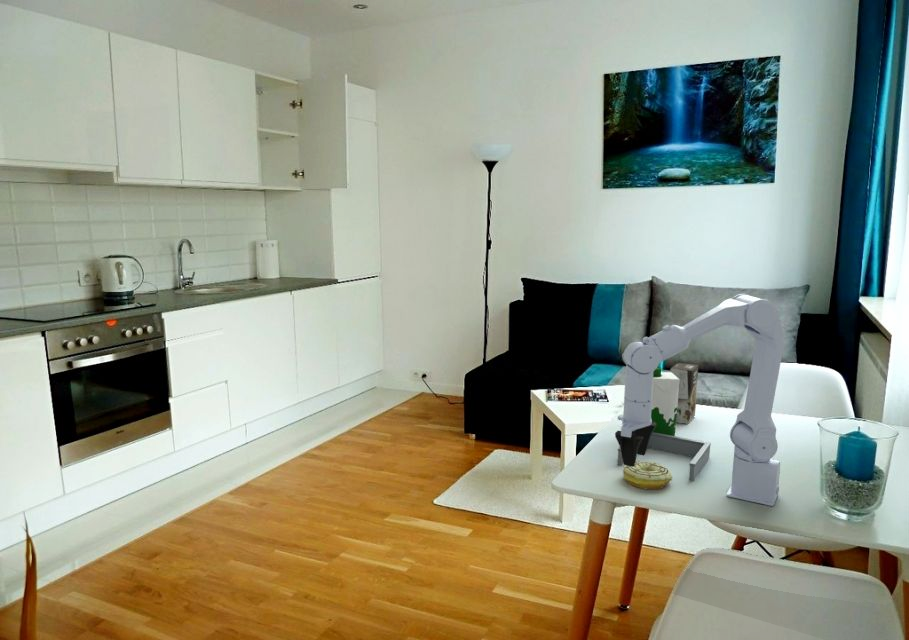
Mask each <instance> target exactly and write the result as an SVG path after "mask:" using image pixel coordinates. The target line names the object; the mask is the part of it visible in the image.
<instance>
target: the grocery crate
mask: <svg viewBox="0 0 909 640" xmlns="http://www.w3.org/2000/svg"><path fill="white" fill-rule="evenodd" d="M711 445H712V442H708V441H703V440H697V439H693V438H688V437H681V436H676V435H675V436H671V435H665V434H660V433H654V432H652V435H651V437H650V440H649V443H648V447H647V449H652V450H656V449H657V450H656V451H663V452H667V453H673V454H677V455H682V456H689V457H692V459H691V461H690V462H689V475H688V476H689V477H688V480H689V481H691V482H694V481H695V480H696V478H697V476H698V475H699V474H700V472H701V471H702V469H703V468H704V466H705V465H706V464H707V462H708V461H709V459H710V456H711V455H710V454H711V453H710V452H711ZM623 465H624V463H623V459H622V453H621V449H620V446H619V447H618V448H617V466H620V467H621V466H623Z"/></svg>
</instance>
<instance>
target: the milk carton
mask: <svg viewBox="0 0 909 640" xmlns="http://www.w3.org/2000/svg"><path fill="white" fill-rule="evenodd" d="M679 380H680V379H679V378H677V377H676V376H675V375H674V374H673V373H671V371H669V372H668V371H666V372H665V371H662V367H660V366H658V367H657V368H656V369H655V370H654V371H653V390H652V407H651V419H652V422H655V423H656V427H655V429H654V431H653V432H654V433H660V434H665V435H671V436H676V429H677V422H676V420H677V406H678V391H679Z"/></svg>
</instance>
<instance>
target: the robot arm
mask: <svg viewBox="0 0 909 640" xmlns="http://www.w3.org/2000/svg"><path fill="white" fill-rule="evenodd" d="M724 326H734V327H735V326H736V327H742V328H745V329H746V330H747V332H748V333H749V334H750V335H751V336H752V337H753V338H754V339H755V343H754V344H755V346H754V351H753V356H752V362H751V368H750V374H749V378H748V379H749V380H748V384H747V391H746V395H745V396H746V397H745V401H744V402H745V403H744V409H743V410H742V411H740V412H739V413H738V414H737V416H736V420H735V423H734V424H733V425H732V427H731V429H730V432H729V438H730V441H731V442H732V444H733V445H734V449H733V450H734V451H733V460H732V461H733V462H732V463H733V464H732V474H731V475H732V476H731V483H730V484H731V485H730V486H729V489H728V490H727V491H726V493H725V495H726V497H730V498H734V499H738V500H742V501H743V500H744V501H747V502H752V503H757V504H762V505H766V506H770V507H774V505H775V503H776V500H777V497H778V495H779V492H780V486H779V483H780V473H781V461H780V460H776V459H773V457H774V456H775V455H776V453H777V452H778V440H777V436H776V434H777V428H776V425H775V422H774V420H773V417H772V412H773V407H774V402H775V401H774V400H775V396H776V389H777V386H778V385H777V384H778V380H779V373H780V368H781V363H782V358H783V357H782V356H783V352H784V346H785V341H786V333H785V329H784V326H783V323H782V320H781V310H780V309H779V308H778V307H777V306H776V305H775V304H774V303H773V302H771V301H770V300H768V299H764V298H759V297H755V296H752V295H749V294H746V293H740V294H736V295H735V296H733V297H731V298H727V299H725V300H723V301H722V302H720V304H719V305H717V306H715V307H713V308H712V309H710V310H708V311H707V312H704V313H703V314H702V315H700V316H698V317H695V319H693V320H691V321H689V322H688V323H686V324H684V325H682V326H679V325H676V324H672V325H669V324H665V325H664V326H662V327H661V328H662V330H660V331H659V332H657V333H655V334H653V335H650V336H649V337H648V336H645V337H643V338H642V341H633V342H631V343H629V344H628V345H627V346H626V348H625V349H624V351H623V353H622V355H621V357H622V361H623V363H624V364H625V365H626V366H625V379H624V394H623V395H624V396H623V414H619V415H618V416H617V420H618V421H621V423H622V424H621V425H622V426H621V427H620V430H617V431H616V432H615V433H614V437H615V439H616V441H617V443H618V445H619V447H620V449H621V453H622V459H623V463H624V464H623V465H624V466H625V465H627V466H632V467H633V466H634V465H635V462H637V455H639V456H645V455H646V452H647V449H648V448H647V447H648V443H649V440H650V437H651V435H652V432H653V431H654V429H655V427H656V423H655V422H652V419H651V407H652V390H653V371H654V370H655V369H656V368H657V367H659V364H660V363H662V362H664V361H666V360H668V359H670V358H672V357H673V356H675V355H677V354H679V353H681V352H683V351H685V350H687V349H688V348H689V345H690V342H691V341H693V340H694V339H696V338H699V337H701V336H704V335H706V334H708V333H710V332H712V331H715V330H717V329H719V328H721V327H724Z"/></svg>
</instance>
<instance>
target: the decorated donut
mask: <svg viewBox="0 0 909 640" xmlns="http://www.w3.org/2000/svg"><path fill="white" fill-rule="evenodd" d="M622 473H623V476H624V477H623V478H624V479H625V481H626V482H627V483H628V484H630V485H631V486H633V485H634V487H635V486H637V487H636V488H639V487H641V488H640V489H644V488H647V489H646V490H658V488H660V489H662V487H663V488H665V487H666V485H668V484H669V483H670V482H671V481H672V480H673V475H672V473H671V471H670V470H669V469H668V467H666V466H664V465H662V464H660V463H659V462H653V461H639V460H638V461H636V462H635V465H634V466H633V467H632V466H627V465H624V466H623V471H622Z"/></svg>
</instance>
